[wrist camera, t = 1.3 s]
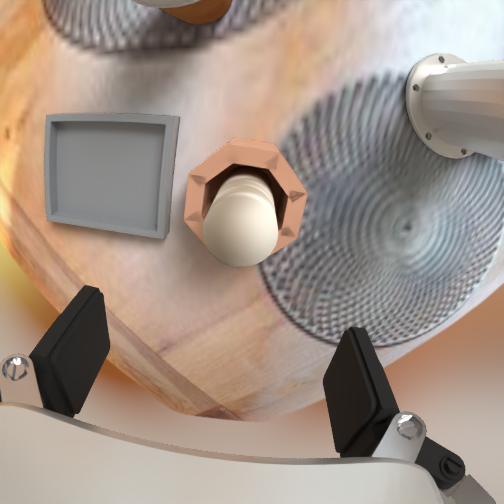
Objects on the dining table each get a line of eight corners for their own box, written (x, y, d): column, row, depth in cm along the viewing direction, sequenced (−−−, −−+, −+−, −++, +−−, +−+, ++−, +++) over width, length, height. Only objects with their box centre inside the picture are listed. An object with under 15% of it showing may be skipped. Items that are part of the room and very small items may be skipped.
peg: (275, 169, 30) (285, 203, 19) (266, 215, 32) (270, 272, 22) (226, 161, 30) (206, 191, 19) (219, 208, 32) (199, 260, 21)
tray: (180, 116, 29) (174, 117, 27) (169, 231, 34) (163, 239, 32) (56, 113, 28) (46, 114, 26) (56, 214, 34) (47, 220, 32)
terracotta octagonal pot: (303, 149, 30) (315, 159, 24) (284, 237, 34) (289, 267, 28) (206, 133, 30) (192, 139, 23) (195, 223, 34) (181, 250, 28)
